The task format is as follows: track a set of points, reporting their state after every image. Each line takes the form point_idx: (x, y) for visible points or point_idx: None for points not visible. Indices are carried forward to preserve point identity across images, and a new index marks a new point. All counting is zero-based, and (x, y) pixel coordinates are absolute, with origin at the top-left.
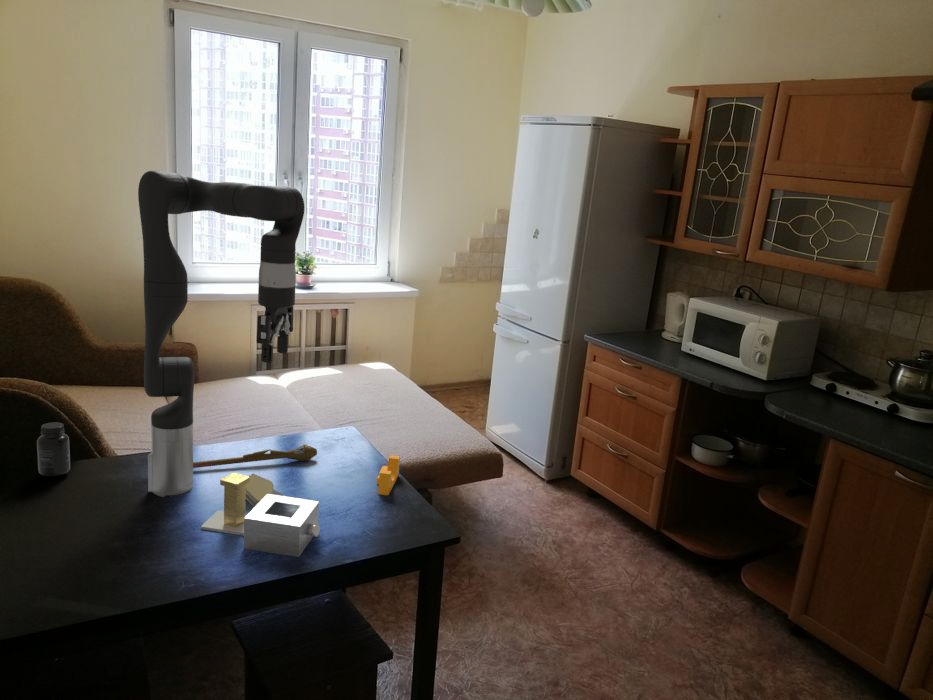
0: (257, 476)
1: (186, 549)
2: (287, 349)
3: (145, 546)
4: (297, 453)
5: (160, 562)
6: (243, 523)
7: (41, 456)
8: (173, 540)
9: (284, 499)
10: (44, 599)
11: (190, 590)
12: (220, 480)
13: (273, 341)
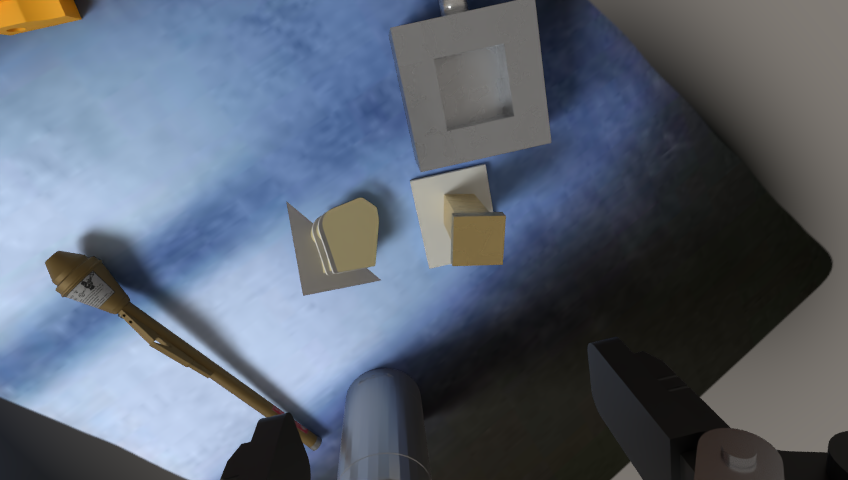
0: (335, 257)
1: (571, 223)
2: (261, 433)
3: (588, 286)
4: (107, 285)
5: (623, 230)
6: (452, 191)
7: None
8: (553, 262)
9: (427, 116)
10: (760, 294)
11: (683, 127)
12: (502, 263)
13: (704, 470)
